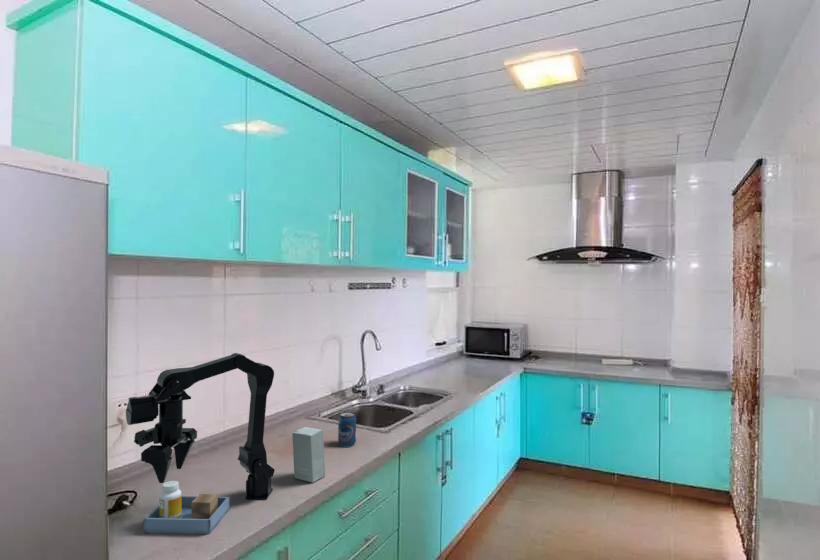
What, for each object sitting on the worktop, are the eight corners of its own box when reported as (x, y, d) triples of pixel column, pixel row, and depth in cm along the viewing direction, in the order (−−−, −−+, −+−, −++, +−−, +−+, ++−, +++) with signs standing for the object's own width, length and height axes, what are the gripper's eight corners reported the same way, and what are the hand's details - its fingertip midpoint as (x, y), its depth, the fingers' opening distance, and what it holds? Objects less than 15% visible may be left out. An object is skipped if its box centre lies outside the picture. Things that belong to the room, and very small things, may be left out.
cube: (217, 512, 136) (217, 494, 136) (210, 521, 131) (210, 502, 131) (199, 511, 136) (199, 493, 136) (191, 520, 131) (191, 502, 131)
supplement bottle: (184, 514, 135) (185, 479, 135) (176, 524, 129) (176, 487, 129) (164, 514, 135) (165, 479, 134) (155, 524, 129) (155, 487, 129)
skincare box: (325, 476, 162) (326, 429, 162) (310, 484, 156) (311, 435, 156) (306, 471, 167) (306, 424, 166) (291, 478, 160) (291, 430, 160)
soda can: (337, 447, 190) (337, 416, 189) (339, 441, 196) (339, 411, 196) (355, 447, 190) (355, 416, 190) (356, 441, 197) (356, 411, 197)
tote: (229, 509, 139) (229, 497, 139) (209, 533, 126) (209, 520, 126) (169, 508, 140) (169, 495, 140) (143, 532, 126) (143, 518, 126)
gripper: (159, 407, 141) (159, 461, 141) (120, 428, 122) (119, 490, 123) (198, 408, 141) (197, 462, 141) (164, 428, 122) (163, 491, 122)
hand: (170, 475), depth 132 cm, fingers open, 9 cm apart
